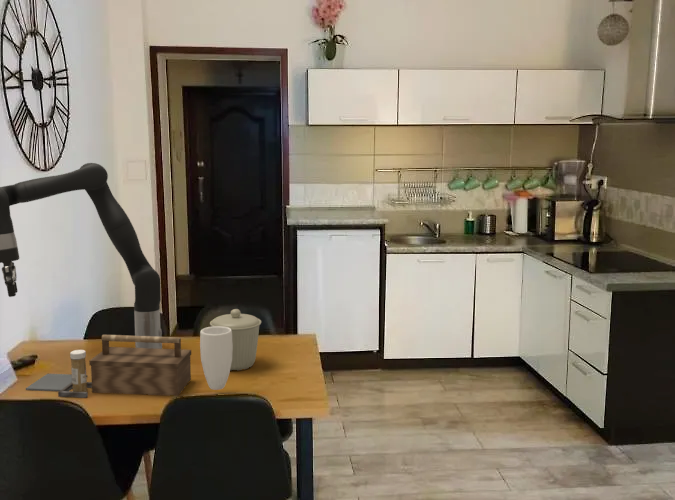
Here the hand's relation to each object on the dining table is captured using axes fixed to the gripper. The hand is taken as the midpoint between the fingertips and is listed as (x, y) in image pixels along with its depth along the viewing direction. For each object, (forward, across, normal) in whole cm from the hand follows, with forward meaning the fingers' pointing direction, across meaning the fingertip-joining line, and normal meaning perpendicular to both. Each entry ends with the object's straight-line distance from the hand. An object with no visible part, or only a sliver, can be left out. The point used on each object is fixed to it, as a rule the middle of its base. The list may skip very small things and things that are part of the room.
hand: (13, 294), depth 224 cm
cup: (+37, -42, -56) cm, 79 cm away
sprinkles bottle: (+31, -24, -16) cm, 43 cm away
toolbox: (+33, -26, -31) cm, 52 cm away
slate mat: (+30, -13, -10) cm, 34 cm away
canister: (+36, -16, -68) cm, 79 cm away
